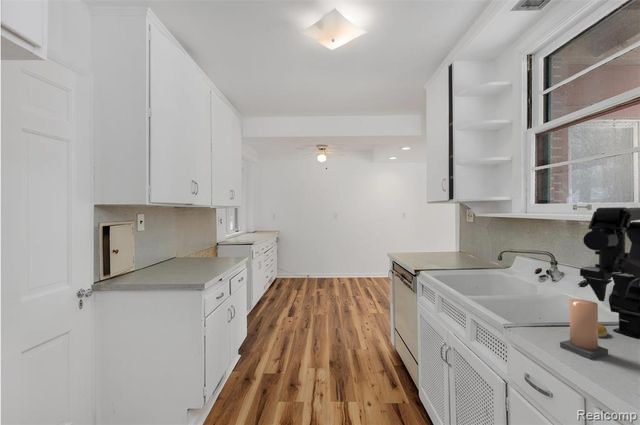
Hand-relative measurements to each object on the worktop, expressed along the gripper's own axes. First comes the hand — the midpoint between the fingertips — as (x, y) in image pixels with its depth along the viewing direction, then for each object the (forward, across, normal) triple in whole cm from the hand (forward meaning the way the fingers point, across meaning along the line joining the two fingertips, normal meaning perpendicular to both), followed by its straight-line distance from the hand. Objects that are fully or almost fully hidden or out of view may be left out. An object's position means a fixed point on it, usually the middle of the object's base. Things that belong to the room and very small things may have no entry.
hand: (611, 299), depth 88 cm
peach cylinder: (+12, -13, -1) cm, 18 cm away
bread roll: (+13, +2, +8) cm, 16 cm away
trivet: (+13, -14, -1) cm, 19 cm away
